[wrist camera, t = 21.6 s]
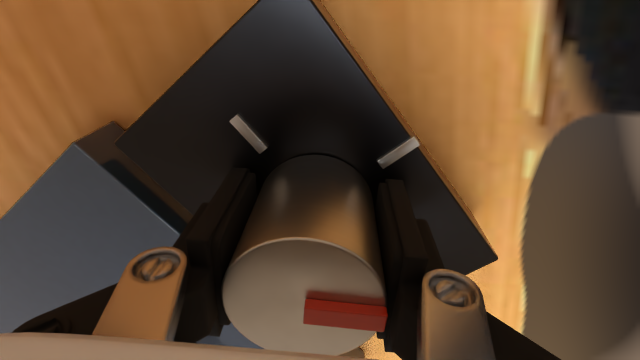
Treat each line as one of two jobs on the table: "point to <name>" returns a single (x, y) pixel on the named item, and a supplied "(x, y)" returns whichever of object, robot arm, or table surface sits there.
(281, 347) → the rotary control knob
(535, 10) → the table surface
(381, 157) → the black dial plate
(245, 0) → the table surface
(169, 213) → the blue-grey patterned panel
